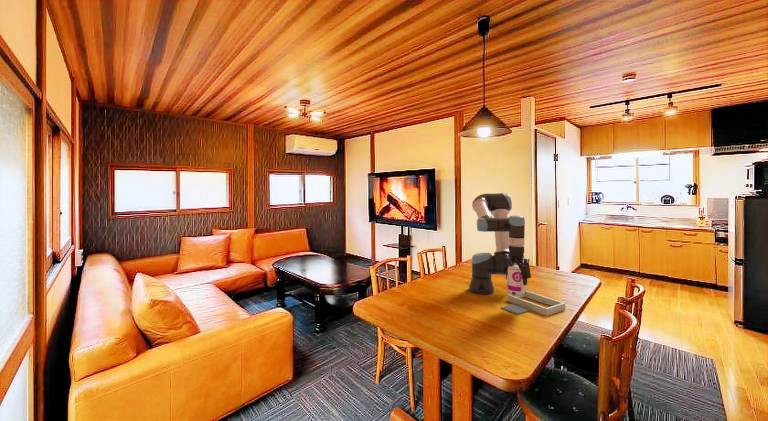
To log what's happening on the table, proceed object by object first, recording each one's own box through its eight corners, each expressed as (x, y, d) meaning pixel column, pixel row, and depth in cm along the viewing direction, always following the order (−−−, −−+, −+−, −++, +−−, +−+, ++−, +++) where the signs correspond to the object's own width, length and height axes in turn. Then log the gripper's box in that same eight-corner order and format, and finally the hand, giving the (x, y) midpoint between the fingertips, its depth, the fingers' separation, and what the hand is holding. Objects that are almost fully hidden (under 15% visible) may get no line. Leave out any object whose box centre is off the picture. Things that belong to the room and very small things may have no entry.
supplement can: (526, 297, 154) (526, 268, 153) (509, 296, 156) (509, 268, 155) (522, 292, 162) (522, 264, 161) (506, 291, 164) (506, 264, 163)
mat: (501, 308, 162) (501, 307, 162) (514, 304, 166) (514, 303, 166) (517, 314, 153) (517, 313, 153) (530, 310, 157) (530, 309, 157)
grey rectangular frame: (507, 300, 172) (507, 294, 172) (524, 295, 179) (524, 290, 179) (546, 315, 151) (546, 309, 151) (565, 309, 158) (565, 303, 158)
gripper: (495, 243, 165) (495, 284, 166) (529, 249, 146) (529, 295, 148) (505, 242, 168) (504, 282, 170) (539, 247, 150) (539, 293, 151)
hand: (516, 288), depth 159 cm, fingers closed on supplement can, 8 cm apart
